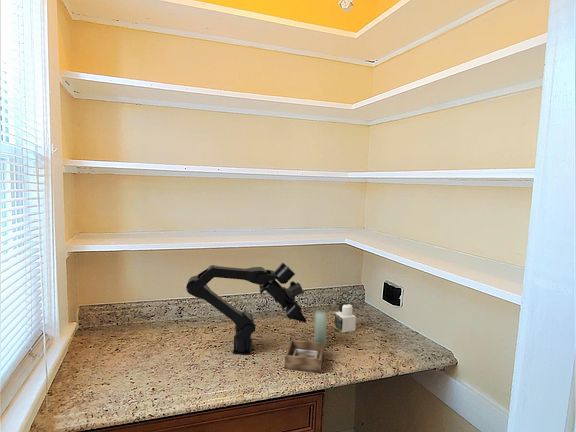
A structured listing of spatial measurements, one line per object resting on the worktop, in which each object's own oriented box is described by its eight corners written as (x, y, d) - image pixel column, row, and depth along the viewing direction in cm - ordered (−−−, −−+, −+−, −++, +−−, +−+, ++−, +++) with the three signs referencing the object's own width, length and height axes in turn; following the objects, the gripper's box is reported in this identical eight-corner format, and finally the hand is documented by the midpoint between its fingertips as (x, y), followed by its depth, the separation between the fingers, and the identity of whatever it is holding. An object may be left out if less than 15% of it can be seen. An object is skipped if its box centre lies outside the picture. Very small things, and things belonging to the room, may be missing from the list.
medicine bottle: (334, 326, 164) (335, 302, 163) (347, 324, 166) (348, 300, 165) (341, 333, 157) (342, 307, 156) (355, 331, 160) (356, 305, 159)
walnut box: (284, 369, 126) (284, 355, 126) (290, 351, 139) (290, 339, 139) (320, 373, 124) (321, 359, 123) (323, 355, 137) (323, 343, 136)
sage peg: (313, 347, 143) (314, 314, 142) (314, 342, 148) (315, 310, 146) (325, 348, 142) (326, 315, 141) (326, 343, 147) (327, 311, 146)
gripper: (296, 284, 131) (323, 311, 134) (287, 271, 149) (311, 295, 152) (274, 305, 130) (303, 332, 133) (268, 290, 148) (293, 313, 151)
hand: (303, 317), depth 142 cm, fingers open, 9 cm apart
